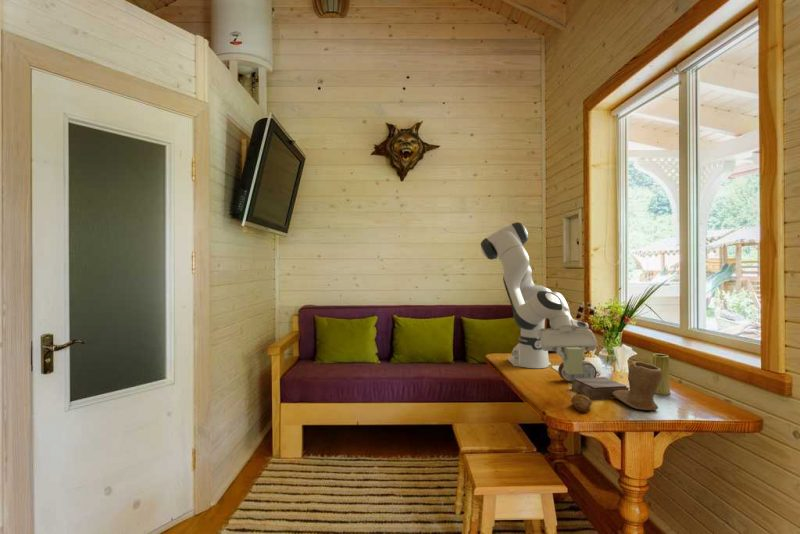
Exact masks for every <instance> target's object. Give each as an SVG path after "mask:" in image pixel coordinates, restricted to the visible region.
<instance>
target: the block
mask: <svg viewBox="0 0 800 534" xmlns="http://www.w3.org/2000/svg"><path fill="white" fill-rule="evenodd" d="M562 352H563V353H564V354H566V356H567V359H566V360H563V362H564V371H565V372H566V373H568V374H583V361H584V360H583V349H581V348H579V347H563V351H562Z"/></svg>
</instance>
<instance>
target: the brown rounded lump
mask: <svg viewBox="0 0 800 534" xmlns="http://www.w3.org/2000/svg"><path fill="white" fill-rule="evenodd" d="M570 402H571V404H572V405H573V407H574V408H575V410H576V411H577V412H578V413H580V414H585V413H587V412H588V411H589V409H590V408H591V406H592V404H593V402H592V401H591V398H590V397H588V396H586V395H584V394H582V393H580V394H575V395H572V397H571V400H570Z"/></svg>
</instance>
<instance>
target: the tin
mask: <svg viewBox="0 0 800 534" xmlns="http://www.w3.org/2000/svg"><path fill="white" fill-rule="evenodd" d="M557 372H558V375H559V377H561V379H563V380H564V381H565V382H569V383H570V382H571V383H572V380H574V378H594V377H597V373H598V370H597V368H596V366H595V365H594V364H593V363H591V362H590V361H587V360H586V361H585V360H583V374H568V373H566V372H565V371H564V361H563V362H561V363H560V364H559V366H558V369H557Z"/></svg>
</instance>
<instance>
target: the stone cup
mask: <svg viewBox="0 0 800 534" xmlns="http://www.w3.org/2000/svg"><path fill="white" fill-rule="evenodd" d="M627 373H628V374H627V375H628V376H627V377H628V386H629V387H628V388H629V391H628V390H617V391H614V392H613V393H612V394H613V395H614V396H615V397H617V398H616V399H618V400H619V401H621V402H622V403H624V404H625V405H627V406H628V407H631V408H633V409H636V410H640V411H642V410H643V411H656V410H658V409H659V406H658V404H656V403H655V401H654V396H655V394H656V393H655V391H656V389H657V387H658V385H659V383H660V381H661V378H662V371H661V369H660V368H658V367H656V366H653V364H650V363H646V362H642V361H638V360H637V361H635V360H634V361H632V362H631V363H630V364H629V367H628V372H627Z"/></svg>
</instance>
